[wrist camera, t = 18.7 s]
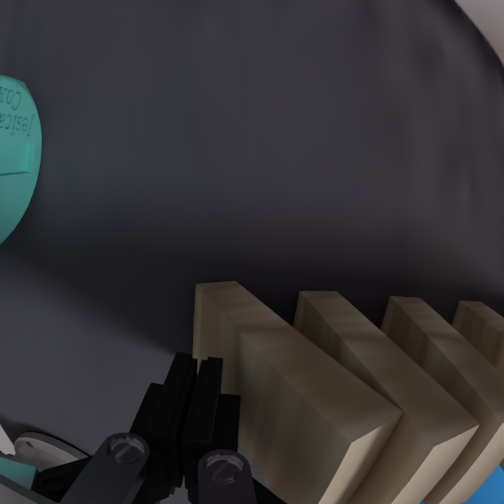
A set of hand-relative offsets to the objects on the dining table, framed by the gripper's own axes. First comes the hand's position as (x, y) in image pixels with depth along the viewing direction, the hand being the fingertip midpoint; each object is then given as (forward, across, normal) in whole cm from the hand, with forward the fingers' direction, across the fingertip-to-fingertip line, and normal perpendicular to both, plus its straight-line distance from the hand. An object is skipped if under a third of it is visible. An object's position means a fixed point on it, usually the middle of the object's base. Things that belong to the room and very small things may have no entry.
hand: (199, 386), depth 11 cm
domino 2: (+5, -5, 0) cm, 7 cm away
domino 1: (+5, 0, 0) cm, 5 cm away
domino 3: (+5, -10, 0) cm, 11 cm away
